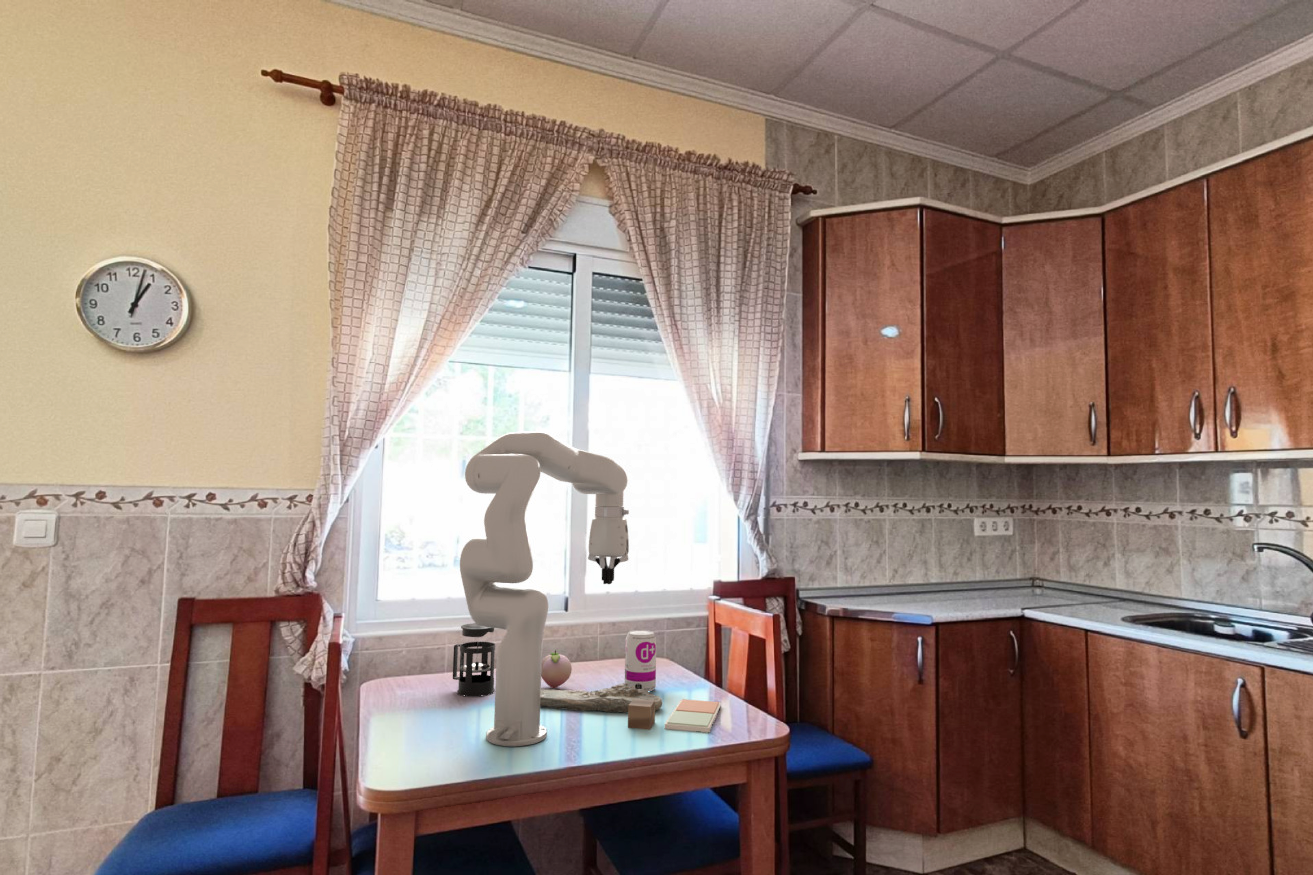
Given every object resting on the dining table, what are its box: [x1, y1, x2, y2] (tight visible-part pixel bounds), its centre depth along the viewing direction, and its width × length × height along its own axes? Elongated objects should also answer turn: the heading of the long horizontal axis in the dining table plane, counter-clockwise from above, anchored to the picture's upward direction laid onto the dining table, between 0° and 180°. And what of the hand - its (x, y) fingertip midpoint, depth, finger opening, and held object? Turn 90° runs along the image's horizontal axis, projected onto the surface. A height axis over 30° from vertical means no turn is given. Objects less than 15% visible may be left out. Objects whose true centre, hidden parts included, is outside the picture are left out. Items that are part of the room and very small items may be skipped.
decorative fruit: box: [541, 650, 573, 690], centre depth 190 cm, size 9×8×10 cm
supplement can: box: [624, 629, 657, 692], centre depth 190 cm, size 8×8×15 cm
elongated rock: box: [540, 682, 663, 713], centre depth 174 cm, size 35×5×10 cm
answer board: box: [664, 698, 722, 733], centre depth 166 cm, size 20×10×1 cm, turn 167°
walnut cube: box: [627, 699, 656, 731], centre depth 160 cm, size 5×5×5 cm
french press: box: [452, 622, 496, 697], centre depth 186 cm, size 12×9×23 cm
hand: (607, 583), depth 187 cm, fingers closed
